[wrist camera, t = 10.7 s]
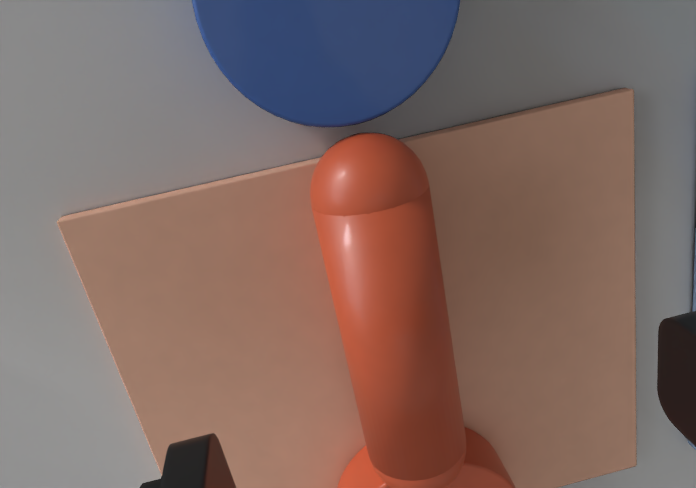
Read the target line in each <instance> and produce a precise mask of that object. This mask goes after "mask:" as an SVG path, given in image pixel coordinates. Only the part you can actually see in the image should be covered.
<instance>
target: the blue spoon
mask: <svg viewBox="0 0 696 488" xmlns="http://www.w3.org/2000/svg"><path fill="white" fill-rule="evenodd" d="M192 3H193V8H194V12H195V17H196V21H197V24H198V27H199V29H200V32H201V35H202V38H203V40H204V42H205V44H206V46H207V48H208V50H209V52H210V55H211V56H212V58H213V59H214V61H215V62H216V64H217V65H218V67H219V69H220V70H221V71H222V73H223V74H224V75H225V76H226V77H227V79H228V80H229V81H230V82H231V83H232V85H233V86H234V87H236V88H237V89H238V90H239V91H240V92H241V93H242V94H243V95H244V96H245V97H246V98H248V99H249V100H250V101H252V102H253V103H255V104H256V105H257V106H259V107H260V108H262V109H264V110H266V111H268V112H269V113H271V114H273V115H275V116H277V117H280V118H283V119H285V120H288V121H290V122H294V123H298V124H302V125H306V126H315V127H343V126H349V125H356V124H359V123H362V122H366V121H369V120H372V119H374V118H377V117H379V116H381V115H383V114H386V113H387V112H389V111H391V110H392V109H394V108H396V107H397V106H399V105H400V104H402V103H403V102H404V101H406V100H407V99H408V98H409V97H411V96H412V95H413V94H414V93H415V92H416V91H417V90H418V89H419V88H420V87H421V86H422V85H423V84H424V83H425V82H426V80H427V79H428V78H429V76H430V75H431V74H432V72H433V71H434V70H435V69H436V67H437V65H438V63H439V62H440V60H441V58H442V57H443V55H444V53H445V51H446V49H447V46H448V44H449V42H450V39H451V37H452V34H453V31H454V28H455V24H456V21H457V16H458V11H459V5H460V0H192Z"/></svg>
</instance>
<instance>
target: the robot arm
mask: <svg viewBox="0 0 696 488" xmlns="http://www.w3.org/2000/svg"><path fill="white" fill-rule="evenodd" d="M657 390H658V396H659V400H660V403H661V406H662V408H663V410H664V412H665V414H666V415H667V417H668V419H669V420H670V421H671V423H672V424H673V425H674V426H675V427H676V428H677V429H678V430H679V431H680V432H681V433H682V434H683V435H684V436H685V437H686V438H687V439H688V440H689V441H690V442H691V443H692V444H693V445H694V446H695V447H696V311H693V312H689V313H685V314H682V315H678V316H674V317H670V318H666V319H664V320H663V321H662V322H661V323H660V326H659V331H658V380H657ZM140 488H236V485H235V483H234V480H233V477H232V475H231V472H230V469H229V466H228V464H227V461H226V458H225V455H224V453H223V450H222V447H221V444H220V442H219V439H218V437H217V436H216V434H214V433H211V434H207V435H203V436H199V437H195V438H191V439H187V440H183V441H179V442H176V443H172V444H170V445H169V447H168V449H167V453H166V458H165V463H164V467H163V472H162V477H161V479H158V480H154V481H150V482H146V483H143V484H142V485H141V486H140Z"/></svg>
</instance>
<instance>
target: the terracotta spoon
mask: <svg viewBox="0 0 696 488" xmlns="http://www.w3.org/2000/svg"><path fill="white" fill-rule="evenodd" d="M310 199H311V207H312V211H313V216H314V220H315V224H316V229H317V233H318V237H319V242H320V246H321V251H322V255H323V259H324V264H325V268H326V272H327V277H328V281H329V285H330V290H331V294H332V299H333V303H334V307H335V312H336V316H337V320H338V325H339V329H340V333H341V338H342V342H343V346H344V351H345V355H346V360H347V364H348V368H349V373H350V377H351V381H352V386H353V390H354V394H355V399H356V403H357V408H358V412H359V416H360V421H361V425H362V429H363V434H364V438H365V442H366V446H364V447H363V448H362V449H361V450H360V451H359V452H358V453H357V454H356V455H355V456H354V457H353V459H352V460H351V461H350V462H349V464H348V465H347V467H346V468H345V470H344V472H343V474H342V476H341V478H340V481H339V484H338V487H337V488H516V487H515V485H514V483H513V481H512V480H511V478H510V476H509V474H508V472H507V471H506V469H505V467H504V465H503V463H502V461H501V460H500V458H499V456H498V454H497V453H496V451H495V449H494V448H493V447H492V445H491V444H490V443H489V442H488V441H487V440H486V439H485V438H483V437H482V436H481V435H479V434H478V433H476V432H474V431H473V430H471V429H469V428H466V427H464V421H463V414H462V407H461V400H460V393H459V386H458V380H457V373H456V366H455V359H454V352H453V345H452V338H451V331H450V324H449V318H448V311H447V304H446V297H445V290H444V283H443V276H442V269H441V262H440V256H439V249H438V242H437V235H436V228H435V221H434V214H433V207H432V200H431V193H430V187H429V181H428V177H427V173H426V171H425V169H424V167H423V164H422V162H421V161H420V159H419V158H418V157H417V155H416V154H415V153H414V152H413V150H412V149H410V148H409V147H408V146H407V145H406V144H404V143H403V142H401V141H399V140H397V139H395V138H394V137H392V136H388V135H385V134H381V133H358V134H354V135H351V136H349V137H346V138H344V139H342V140H340V141H338V142H337V143H336V144H334V145H333V146H332V147H330V148H329V149H328V150H327V151H326V153H325V154H324V155H323V156H322V157H321V159H320V160H319V162H318V164H317V166H316V168H315V169H314V173H313V176H312V179H311V188H310Z"/></svg>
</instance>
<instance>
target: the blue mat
mask: <svg viewBox="0 0 696 488" xmlns="http://www.w3.org/2000/svg"><path fill="white" fill-rule="evenodd" d="M693 311H696V230H695V258H694V286H693ZM688 443H689V444H690V445H691V446H692V447H693V448H694V449H696V447H695V446H694V445H693V444H692V443H691V442H690V441H689V440H688Z"/></svg>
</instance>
